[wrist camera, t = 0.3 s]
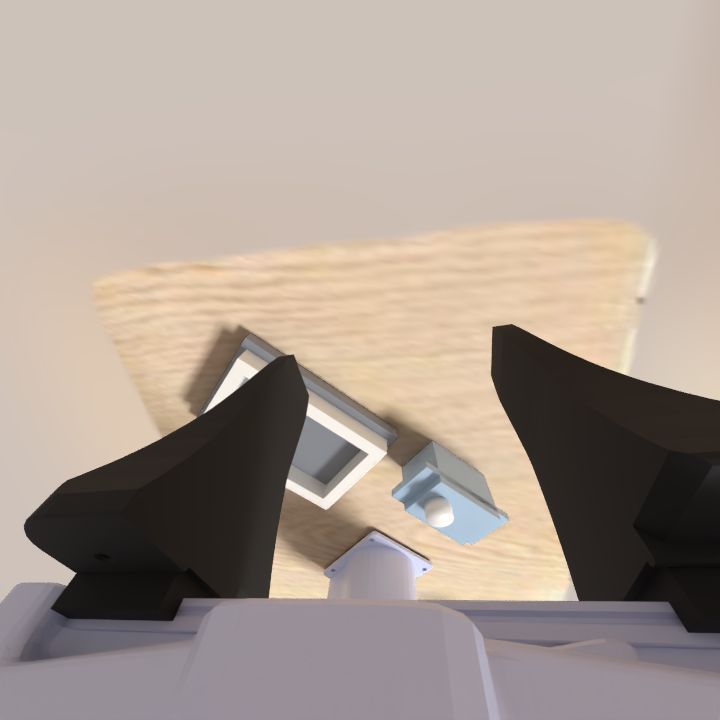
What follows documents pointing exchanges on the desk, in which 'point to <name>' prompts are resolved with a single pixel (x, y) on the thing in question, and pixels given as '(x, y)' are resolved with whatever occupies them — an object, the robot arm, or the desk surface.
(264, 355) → the board
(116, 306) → the desk surface
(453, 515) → the block
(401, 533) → the desk surface
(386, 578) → the robot arm
